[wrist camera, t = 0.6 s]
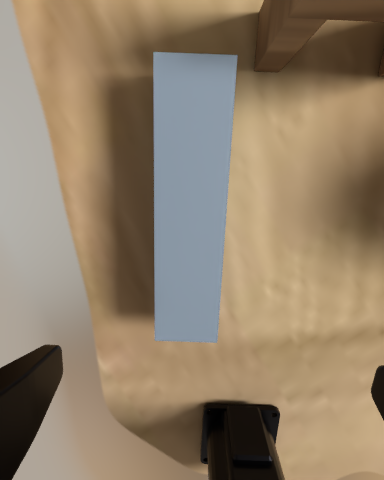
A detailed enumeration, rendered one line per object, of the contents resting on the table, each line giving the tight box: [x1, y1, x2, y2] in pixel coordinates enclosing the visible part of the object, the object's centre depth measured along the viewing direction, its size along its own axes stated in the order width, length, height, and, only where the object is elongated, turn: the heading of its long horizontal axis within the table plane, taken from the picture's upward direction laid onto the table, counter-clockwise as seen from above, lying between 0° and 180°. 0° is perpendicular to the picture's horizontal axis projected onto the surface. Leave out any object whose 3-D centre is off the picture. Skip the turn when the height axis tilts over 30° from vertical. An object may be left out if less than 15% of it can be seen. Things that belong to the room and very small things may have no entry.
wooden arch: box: [254, 0, 384, 77], centre depth 12 cm, size 3×9×8 cm, turn 88°
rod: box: [153, 52, 238, 343], centre depth 17 cm, size 16×4×4 cm, turn 178°
